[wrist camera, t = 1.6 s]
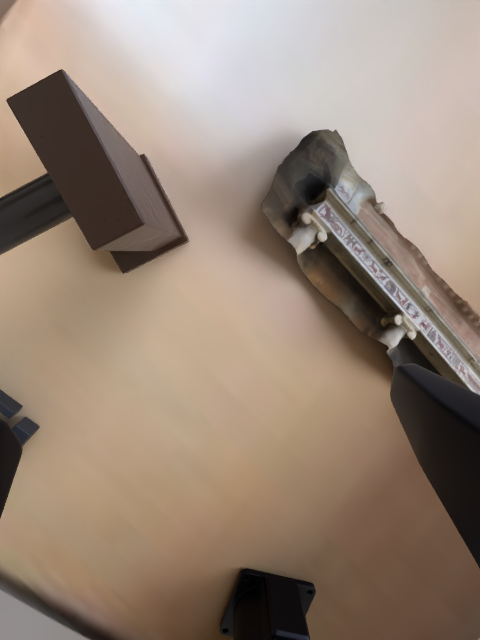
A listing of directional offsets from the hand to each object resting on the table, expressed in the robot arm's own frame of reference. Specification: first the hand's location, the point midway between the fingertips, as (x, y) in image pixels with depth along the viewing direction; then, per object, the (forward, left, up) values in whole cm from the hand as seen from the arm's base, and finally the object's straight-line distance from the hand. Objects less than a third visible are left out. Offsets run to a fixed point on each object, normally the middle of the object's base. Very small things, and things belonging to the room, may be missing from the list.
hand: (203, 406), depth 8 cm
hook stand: (+1, +9, -15) cm, 18 cm away
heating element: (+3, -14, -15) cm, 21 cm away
